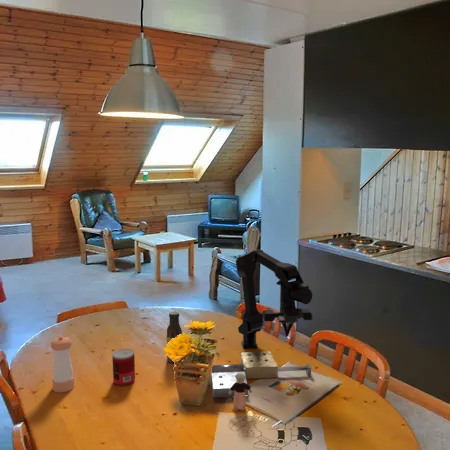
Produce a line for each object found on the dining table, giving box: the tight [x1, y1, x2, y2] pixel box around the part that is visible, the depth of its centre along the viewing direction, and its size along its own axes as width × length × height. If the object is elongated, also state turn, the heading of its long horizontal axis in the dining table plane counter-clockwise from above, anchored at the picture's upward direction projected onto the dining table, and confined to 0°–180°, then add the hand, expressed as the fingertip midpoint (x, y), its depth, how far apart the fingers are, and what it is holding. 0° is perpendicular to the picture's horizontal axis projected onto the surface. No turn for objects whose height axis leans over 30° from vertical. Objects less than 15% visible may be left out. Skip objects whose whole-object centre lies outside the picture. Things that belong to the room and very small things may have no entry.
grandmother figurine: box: [228, 372, 253, 412], centre depth 153 cm, size 8×4×13 cm, turn 106°
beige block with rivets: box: [240, 350, 279, 380], centre depth 182 cm, size 16×12×4 cm
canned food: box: [111, 348, 136, 387], centre depth 172 cm, size 8×8×11 cm
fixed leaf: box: [210, 363, 312, 399], centre depth 170 cm, size 16×37×5 cm, turn 95°
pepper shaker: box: [50, 335, 75, 393], centre depth 167 cm, size 7×7×19 cm
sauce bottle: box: [166, 311, 183, 364], centre depth 188 cm, size 7×6×20 cm
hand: (286, 335), depth 185 cm, fingers closed
